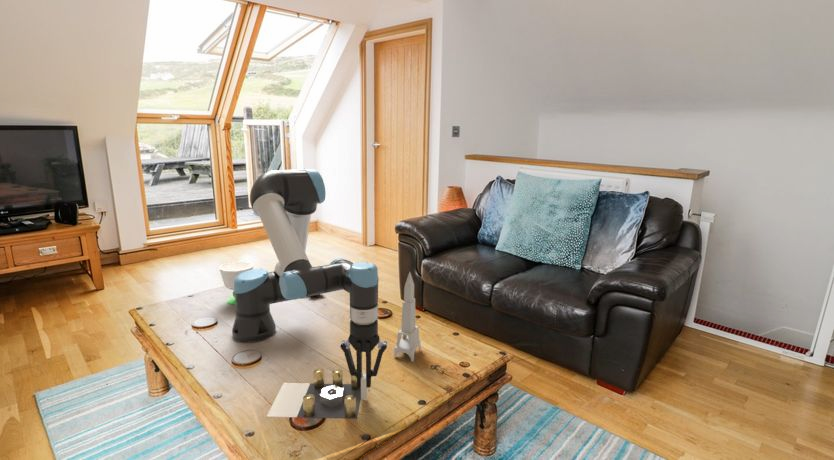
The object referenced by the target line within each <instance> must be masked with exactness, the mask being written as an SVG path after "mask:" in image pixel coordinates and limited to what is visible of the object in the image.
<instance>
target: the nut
mask: <svg viewBox="0 0 834 460" xmlns="http://www.w3.org/2000/svg"><path fill="white" fill-rule="evenodd" d="M343 397H344V389H343V388H341V387H338V386H335V385H332V386H329V387H325V388H323V389H322V391H321V394H320V403H321V404H323V405H326V406H328V407H333V406H336V405H339V404H342V401H343Z"/></svg>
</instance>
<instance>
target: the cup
mask: <svg viewBox="0 0 834 460" xmlns="http://www.w3.org/2000/svg"><path fill="white" fill-rule="evenodd" d="M252 269H254V264H253V263H252V262H249V261H241V260H240V261H232V262H225V263H223V264H221V265H220V266H219V268H218V270H219V272H220V275H221V278H222V282H223V285H224V287H225V288H226V289H228V290H232V296H233V297H232V298H231V297H230V298H229V299H228V300H227V303H228V305H230V306H231V305H232V306H236V305H235V292H234V280H235V278H236V277H237V276H238V275H239V274H241V273H243V272H245V271H248V270H252Z"/></svg>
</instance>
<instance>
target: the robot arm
mask: <svg viewBox="0 0 834 460" xmlns="http://www.w3.org/2000/svg"><path fill="white" fill-rule="evenodd" d="M326 194H327V193H326V186H325V183H324V179H323V176H322V175H321V173H320V172H319V171H318V170H316V169H314V168H311V169H310V168H302V169H301V168H299V169H279V170H278V169H275V170H274V169H273V170H272V169H271V170H268V171H266V172H264V173H263V174H260V176H258V177H257V179H256V180H255V181H254V183H253V184H252V186H251V189H250V193H249V201H250V206H251V209H252V211H253V213H254V214H255V216H256V217H259V218H260V221H261V223H262V225H263V228H264V230H265V232H266V235H267V237H268V240H269V241H270V245H271V246H272V249H273V251H274V253H275V256H276V257H277V260H278V262H277V263H276V264H275V266H274V271H270V272H268V270H267V269H264V268H258V269H257V268H253V269H252V270H248V271H245V272H243V273H241V274H239V275H238V276H237V277H236V278H235V280H234V290H233V291H234V292H235V305H234V306H235V319H234V322H233V325H232V329H231V330H232V331H231V332H232V333H231V334H232V335H231V336H232V338H233V339H234V340H235V341H237V342H242V343H257V342H261V341H265V340H267V339H270V338H271V337H273V336H274V335H275V334H276V331H277V329H276V326H277V325H276V323H275V320H274V318H273V315H272V313H271V309H270V305H273V304H276V303H283V302H287V301H293V300H299V299H305V298H308V297H312V296H313V295H314V296H319V295H318V294H320V295H323V294H328V293H332V292H337V291H341V290H342V291H343V290H344V291H345V292H347V293H348V294H349V319H350V321H349V335H348V338H347V339H346V340H345V339H344V340H342V341H341V343H340V346H339V347H340V349H341V350H342V351H343V353H344V357H345V360H346V365H347V367H348V371H349V374H350V377H351V376H356V377H357V387H359V388H361V400H363V401H366V400H367V397H368V388H369V389H370V388H371V385H372V377H376V376H378V372H379V368H380V365H381V361H382V358H383V354H384V352H385V351H386V350H387V348H388V342H387V341H386V340H385V341H382V340H381V339H380V338H381V337H380V336H379V330H378V329H379V327H378V326H379V322H378V321H379V320H378V319H379V314H378V313H379V282H380V281H379V269H378V266H377V265H376V264H375V263H373V262H368V261H358V262H353V261H350V260H348V259H346V258H345V259H344V258H339V257H338V258H335V259H334V260H332V261H331V262H330V263H329V264H325V265H318V266H312V263H311V261H310V260H309V258H308V255H307V252H306V251H307V245H308V244H307V243H308V237H309V230H310V224H311V216H312V215H314V213H315V212H316V211H317V207H318V204H319V205H320V204H322V203H324V201H325V200H326ZM322 293H323V294H322ZM377 345H378V346H377ZM350 346H351V347H352V348H353V349H354V350H355V351H356V353H355V354H356V365H355V362H354V358H353V354H352V350H351V347H350ZM376 346H377V349H378V350H377V355H376V359H375V362H374V366H373V369H372V351H373V350H374V349H375V347H376ZM363 353H365V373H363Z"/></svg>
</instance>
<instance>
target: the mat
mask: <svg viewBox="0 0 834 460" xmlns="http://www.w3.org/2000/svg"><path fill="white" fill-rule="evenodd" d="M332 385H333V383H324V388H325V387H329V386H332ZM322 389H323V388H322ZM322 389H315V388H314V382H313V383H311V382H310V383H309V382H308V383H305V382H304V383H303V382H283V383H282V385H281V387H280V388H279V391H278V393H277V395H276V397H275V399H274V400H273V403H272V404H271V407H270V409H269V410H268V412H267V415H266V417H267V418H268V417H269V418H306V419H307V418H310V419H311V418H312V419H313V418H314V419H347V418H346V417H345V404H344V398H345V397H346V396H348V395H354V396H355V397H356V416H355V417H353V418H352V419H358V415H359V409H360V406H361V389H359V390H353V389H352V388H351V383H343V389H344V397H343V401H342V404H339V405H336V406H333V407H328V406H326V405H323V404H321V403H320V394H321V391H322ZM307 394H312V395H314V396H315V415H314V416H312V417H305V416H304V412H303V397H304V396H305V395H307Z"/></svg>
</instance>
